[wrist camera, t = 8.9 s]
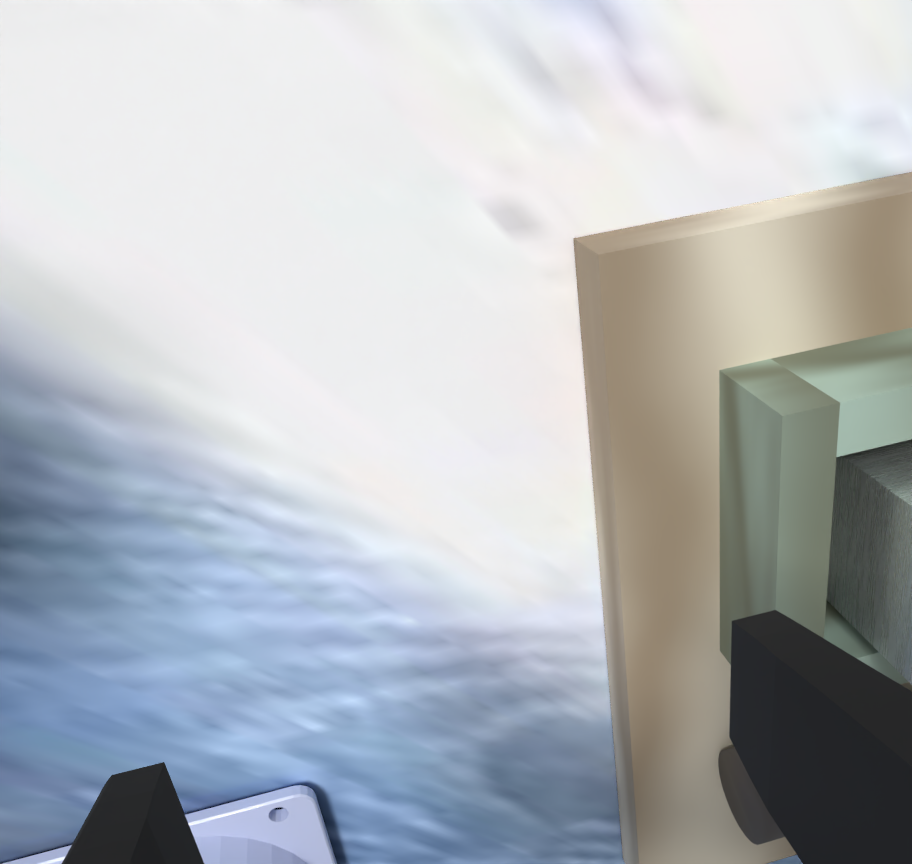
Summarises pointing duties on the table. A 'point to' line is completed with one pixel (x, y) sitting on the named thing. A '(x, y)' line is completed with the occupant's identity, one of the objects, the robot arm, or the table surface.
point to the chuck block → (730, 471)
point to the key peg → (875, 549)
